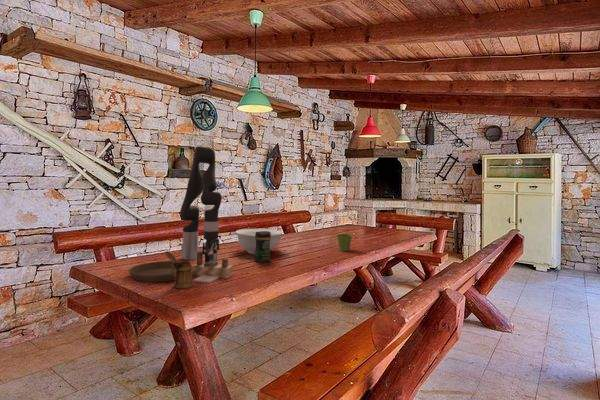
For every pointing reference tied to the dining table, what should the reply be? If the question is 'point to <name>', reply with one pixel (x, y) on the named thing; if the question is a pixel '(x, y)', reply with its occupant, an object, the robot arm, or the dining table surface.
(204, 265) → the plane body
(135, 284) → the dining table surface
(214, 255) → the lever cap
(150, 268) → the plant saucer
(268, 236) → the coffee jar
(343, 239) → the plant pot
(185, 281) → the turkish coffee pot
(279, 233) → the bowl
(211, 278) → the stone tile
